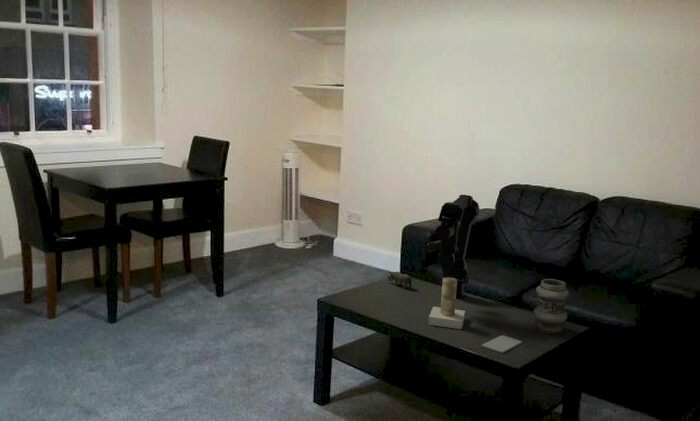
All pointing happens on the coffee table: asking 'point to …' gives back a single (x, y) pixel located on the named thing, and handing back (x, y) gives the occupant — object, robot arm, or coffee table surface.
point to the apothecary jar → (551, 305)
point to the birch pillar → (448, 296)
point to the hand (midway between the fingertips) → (446, 274)
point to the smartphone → (501, 344)
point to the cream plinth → (446, 319)
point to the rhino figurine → (400, 279)
